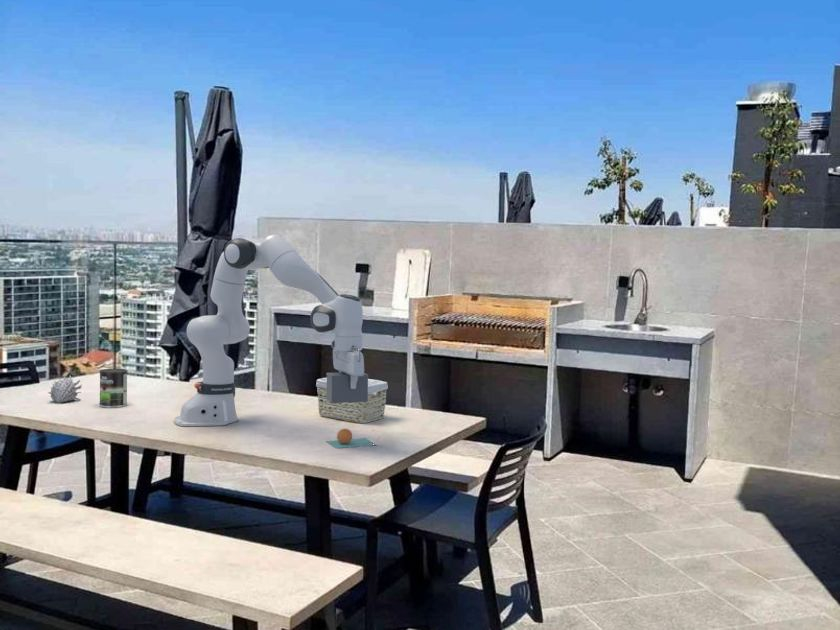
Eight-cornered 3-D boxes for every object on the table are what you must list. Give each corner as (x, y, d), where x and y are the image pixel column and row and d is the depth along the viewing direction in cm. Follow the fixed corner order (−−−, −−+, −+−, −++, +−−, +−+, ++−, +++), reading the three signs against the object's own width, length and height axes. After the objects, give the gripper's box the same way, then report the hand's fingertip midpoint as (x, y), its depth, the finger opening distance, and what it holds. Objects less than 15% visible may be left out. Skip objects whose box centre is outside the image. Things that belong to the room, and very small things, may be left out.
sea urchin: (45, 408, 312) (74, 411, 311) (41, 384, 307) (69, 387, 306) (61, 393, 322) (89, 396, 321) (57, 370, 318) (85, 373, 317)
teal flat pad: (336, 448, 250) (336, 448, 250) (326, 441, 259) (326, 441, 259) (376, 445, 256) (376, 444, 256) (365, 438, 265) (365, 438, 265)
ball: (357, 436, 256) (348, 448, 255) (351, 432, 260) (342, 444, 259) (347, 427, 254) (337, 440, 252) (341, 424, 258) (331, 436, 257)
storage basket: (389, 418, 299) (390, 380, 298) (363, 425, 286) (364, 385, 285) (340, 410, 312) (341, 374, 311) (313, 416, 299) (314, 378, 298)
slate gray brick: (331, 403, 249) (331, 375, 249) (326, 399, 256) (326, 372, 256) (367, 401, 254) (368, 374, 253) (361, 397, 260) (362, 371, 260)
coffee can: (114, 408, 303) (114, 372, 302) (93, 406, 306) (93, 370, 305) (133, 404, 312) (133, 369, 311) (113, 402, 316) (113, 367, 315)
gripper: (369, 347, 246) (368, 391, 247) (347, 341, 264) (346, 381, 265) (350, 348, 243) (349, 392, 244) (329, 341, 262) (329, 382, 263)
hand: (348, 386), depth 255 cm, fingers closed on slate gray brick, 7 cm apart
